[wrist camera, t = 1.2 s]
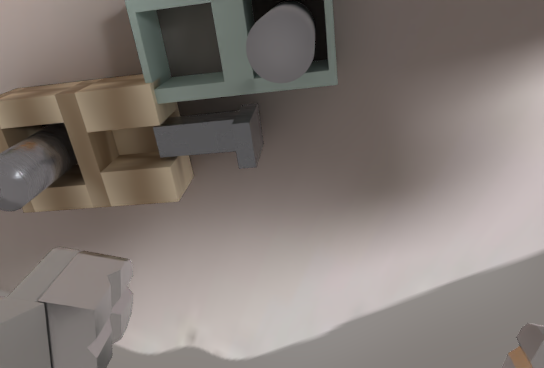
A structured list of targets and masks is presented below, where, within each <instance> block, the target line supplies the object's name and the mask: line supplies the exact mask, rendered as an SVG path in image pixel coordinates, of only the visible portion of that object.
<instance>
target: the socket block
mask: <svg viewBox="0 0 544 368" xmlns="http://www.w3.org/2000/svg"><path fill="white" fill-rule="evenodd" d="M160 78H161V77H160ZM160 78H158V80H157V81H156V80H155V81H154V82H152V83H145V80H144V76H143V74H137V75H129V76H120V77H111V78H103V79H94V80H86V81H77V82H68V83H60V84H51V85H43V86H34V87H25V88H17V89H14V90H11V91H9V92H6V93H4V94H1V95H0V153H1V152H3V151H5V150H7V149H8V148H10V147H12V146H14V145H15V144H17V143H19V142H21V141H22V140H24V139H26V138H28V137H29V136H31V135H33V134H35V133H36V132H38V131H40V130H42V129H43V128H42V125H44V124H53V123H63V122H64V124H65V127H66V130H67V133H68V135H69V138H70V141H71V144H72V147H73V150H74V153H75V156H76V159H77V162H78V164H79V165H75V166H73V167H72V168H71V169H70V170H68V171H67V172H66V173H65V174H63V175H62V176H61V177H60V178H58V179H57V180H56V181H55V182H53V183H52V184H51V185H50V186H48V187H47V188H46V189H45V190H43V191H42V192H41V193H40V194H38V195H37V196H36V197H35V198H33V199H32V200H31V201H30V202H28V203H27V204H26V205H25V206H23V207H22V210H23V212H24V213H29V212H42V211H56V210H70V209H84V208H97V207H111V206H125V205H139V204H152V203H166V202H179V201H180V199H181V197H182V196H183V194H184V192H185V191H186V189H187V187H188V186H189V184H190V182H191V181H192V179H193V177H194V175H193V171H192V166H191V162H190V157H189V155H186V156H174V157H163V158H160V154H159V150H158V146H157V142H156V138H155V135H154V131H153V127H154V126H157V125H161V124H162V123H163V122H164V121H165V120H166V119H167V118H171V117H180V113H179V109H178V104H177V102H171V103H161V104H157V99H156V95H155V91H154V89H156V88H157V86H158V87H159V86H160V85H159V83H160V81H159V80H160ZM158 81H159V82H158ZM157 84H158V85H157Z"/></svg>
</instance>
